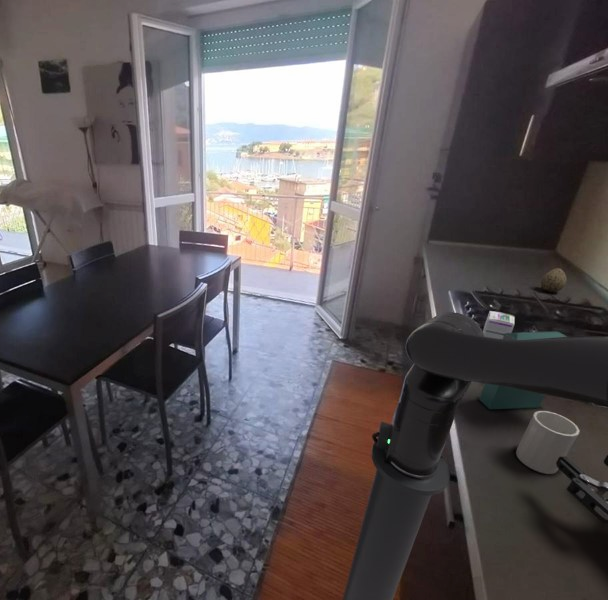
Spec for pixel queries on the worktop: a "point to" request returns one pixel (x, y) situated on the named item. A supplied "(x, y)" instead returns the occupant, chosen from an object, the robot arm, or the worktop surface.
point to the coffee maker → (510, 396)
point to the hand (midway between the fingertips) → (583, 458)
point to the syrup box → (498, 325)
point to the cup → (546, 441)
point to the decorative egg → (553, 280)
